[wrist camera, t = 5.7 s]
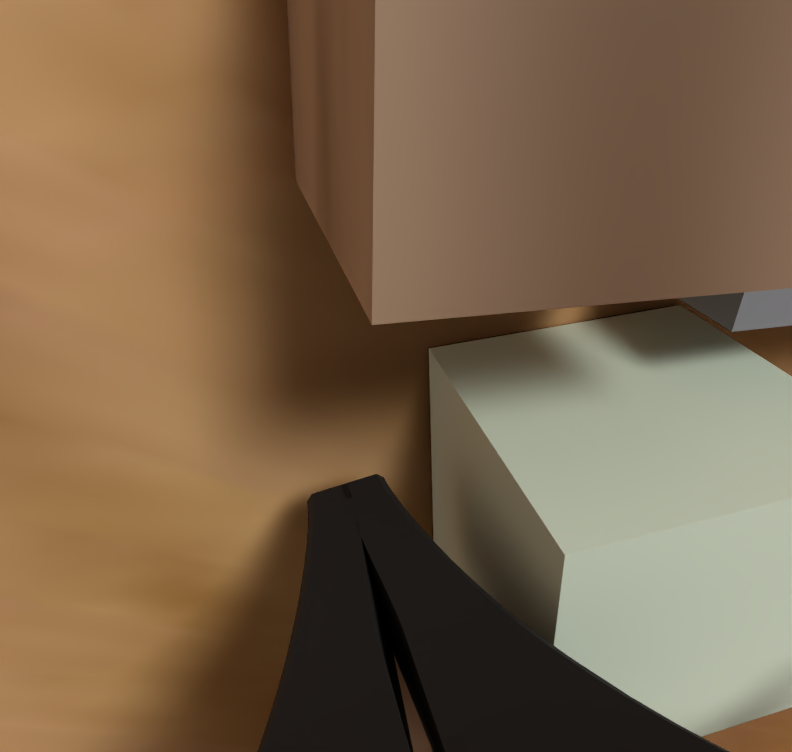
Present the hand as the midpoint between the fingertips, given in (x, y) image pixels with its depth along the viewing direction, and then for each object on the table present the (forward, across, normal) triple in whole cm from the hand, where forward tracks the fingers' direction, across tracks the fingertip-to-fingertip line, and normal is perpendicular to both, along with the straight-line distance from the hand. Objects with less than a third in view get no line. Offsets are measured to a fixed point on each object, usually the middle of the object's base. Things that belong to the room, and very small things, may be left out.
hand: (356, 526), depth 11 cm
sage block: (+1, -4, +1) cm, 4 cm away
